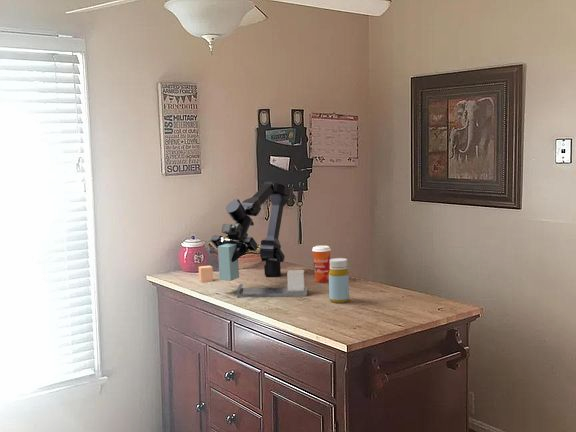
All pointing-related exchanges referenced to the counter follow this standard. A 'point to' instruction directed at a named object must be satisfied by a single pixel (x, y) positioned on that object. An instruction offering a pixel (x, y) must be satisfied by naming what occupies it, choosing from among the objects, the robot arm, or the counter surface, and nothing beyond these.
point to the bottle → (338, 280)
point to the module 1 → (205, 274)
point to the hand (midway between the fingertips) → (226, 261)
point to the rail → (293, 289)
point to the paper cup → (321, 263)
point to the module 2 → (227, 262)
